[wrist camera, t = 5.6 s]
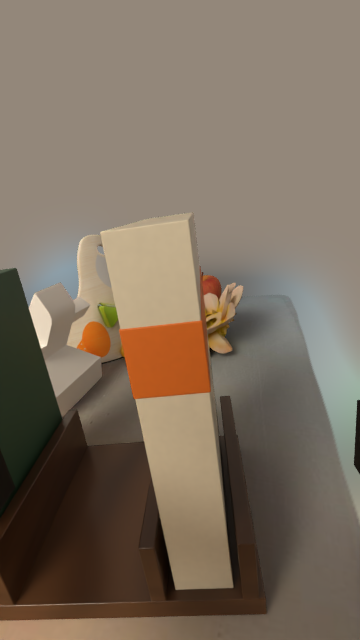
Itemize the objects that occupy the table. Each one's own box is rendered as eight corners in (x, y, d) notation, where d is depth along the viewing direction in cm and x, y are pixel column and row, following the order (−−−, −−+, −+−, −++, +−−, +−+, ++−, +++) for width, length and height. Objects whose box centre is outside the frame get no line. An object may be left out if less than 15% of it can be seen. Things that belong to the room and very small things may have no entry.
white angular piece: (-19, 437, 34) (-70, 313, 29) (62, 371, 46) (35, 277, 42) (48, 444, 31) (3, 309, 27) (115, 372, 44) (92, 272, 39)
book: (220, 439, 27) (194, 212, 21) (234, 589, 16) (190, 219, 10) (183, 441, 27) (147, 218, 21) (174, 591, 17) (97, 232, 11)
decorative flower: (162, 318, 56) (167, 262, 52) (226, 325, 56) (236, 270, 52) (150, 363, 43) (155, 292, 39) (235, 373, 43) (249, 303, 38)
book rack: (238, 445, 27) (224, 296, 23) (266, 614, 16) (249, 384, 12) (37, 460, 29) (-11, 324, 25) (-65, 622, 18) (-185, 423, 14)
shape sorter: (128, 370, 43) (99, 236, 38) (63, 368, 47) (28, 244, 41) (175, 319, 61) (160, 221, 55) (125, 320, 64) (107, 228, 59)
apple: (212, 303, 67) (208, 265, 65) (230, 311, 61) (226, 269, 58) (180, 311, 65) (174, 272, 62) (194, 321, 58) (189, 277, 56)
